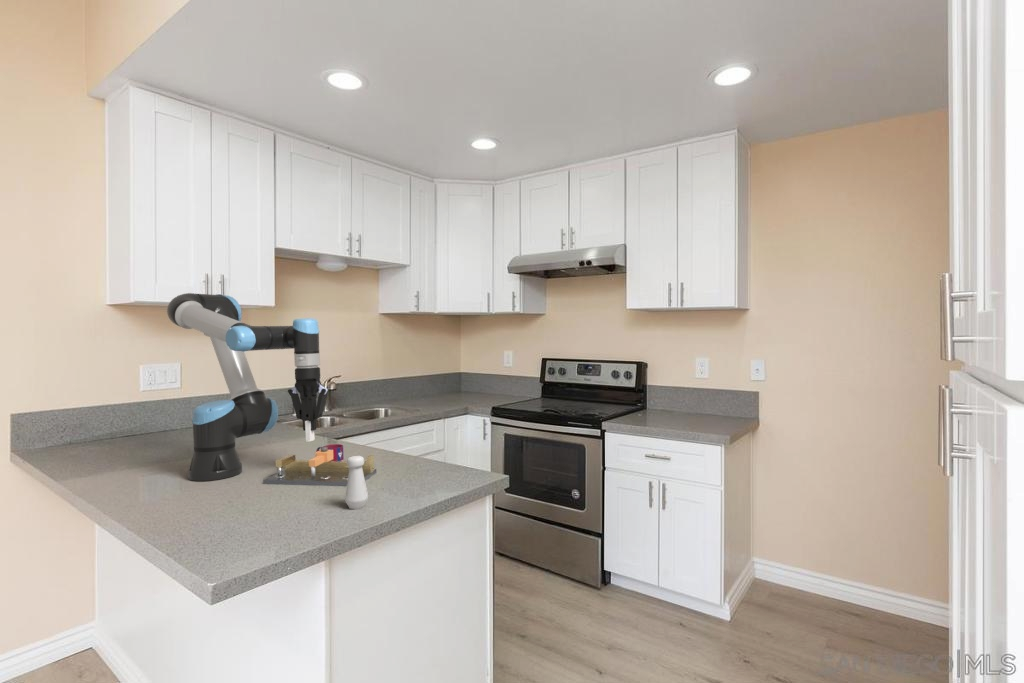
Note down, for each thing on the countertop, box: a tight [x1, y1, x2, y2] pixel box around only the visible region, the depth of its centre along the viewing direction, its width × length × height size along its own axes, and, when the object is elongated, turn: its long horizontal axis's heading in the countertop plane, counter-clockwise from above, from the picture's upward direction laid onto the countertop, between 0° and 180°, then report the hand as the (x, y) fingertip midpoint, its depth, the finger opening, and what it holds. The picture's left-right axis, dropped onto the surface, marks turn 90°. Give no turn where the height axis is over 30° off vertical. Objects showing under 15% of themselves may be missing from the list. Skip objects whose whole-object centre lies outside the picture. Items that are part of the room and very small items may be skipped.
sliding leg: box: [308, 446, 333, 476], centre depth 161 cm, size 4×10×7 cm, turn 172°
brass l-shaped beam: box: [275, 454, 375, 476], centre depth 160 cm, size 29×9×5 cm, turn 82°
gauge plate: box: [262, 468, 377, 487], centre depth 159 cm, size 30×14×1 cm, turn 82°
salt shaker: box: [344, 455, 369, 510], centre depth 133 cm, size 6×6×13 cm
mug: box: [315, 443, 345, 461], centre depth 174 cm, size 7×10×7 cm
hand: (310, 440), depth 164 cm, fingers closed
